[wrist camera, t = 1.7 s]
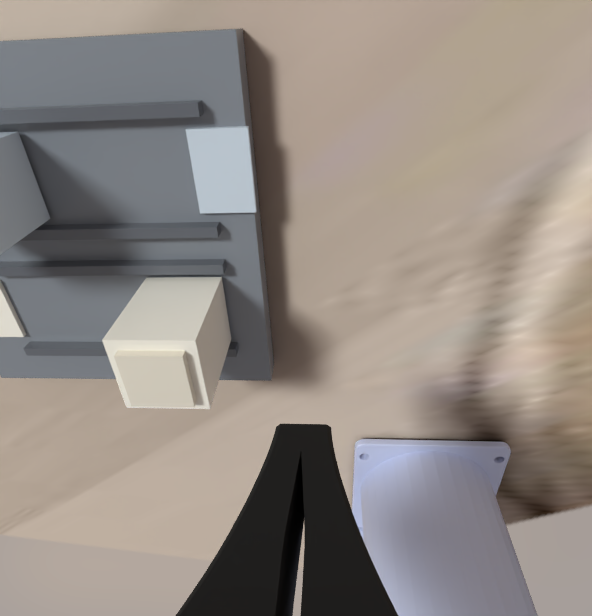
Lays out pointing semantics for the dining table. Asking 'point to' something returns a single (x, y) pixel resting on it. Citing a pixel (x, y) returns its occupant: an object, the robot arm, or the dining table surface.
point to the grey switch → (18, 193)
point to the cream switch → (170, 343)
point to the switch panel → (130, 193)
